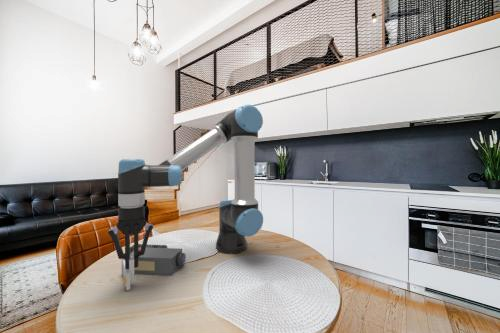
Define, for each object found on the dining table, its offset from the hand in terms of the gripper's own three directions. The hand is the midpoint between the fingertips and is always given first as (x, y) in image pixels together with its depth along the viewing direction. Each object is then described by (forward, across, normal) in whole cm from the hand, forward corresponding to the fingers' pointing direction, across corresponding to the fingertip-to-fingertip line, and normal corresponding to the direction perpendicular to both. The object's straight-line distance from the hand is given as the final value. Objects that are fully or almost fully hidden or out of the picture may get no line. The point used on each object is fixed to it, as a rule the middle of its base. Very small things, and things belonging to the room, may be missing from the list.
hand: (131, 277), depth 67 cm
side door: (+2, +2, -3) cm, 5 cm away
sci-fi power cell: (+3, -4, -23) cm, 23 cm away
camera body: (+3, -8, -9) cm, 12 cm away
